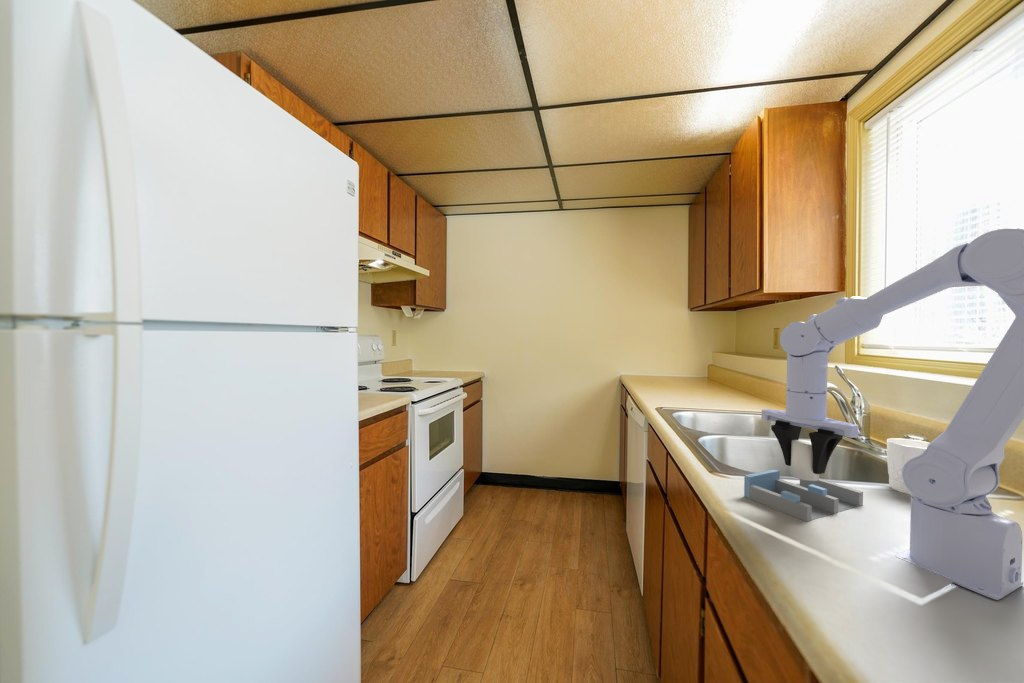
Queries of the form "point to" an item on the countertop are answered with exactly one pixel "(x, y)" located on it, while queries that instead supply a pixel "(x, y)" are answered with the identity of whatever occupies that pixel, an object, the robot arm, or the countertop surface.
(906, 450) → the white cup
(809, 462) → the white rounded cylinder
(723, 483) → the countertop surface
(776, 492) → the grey and blue rack
